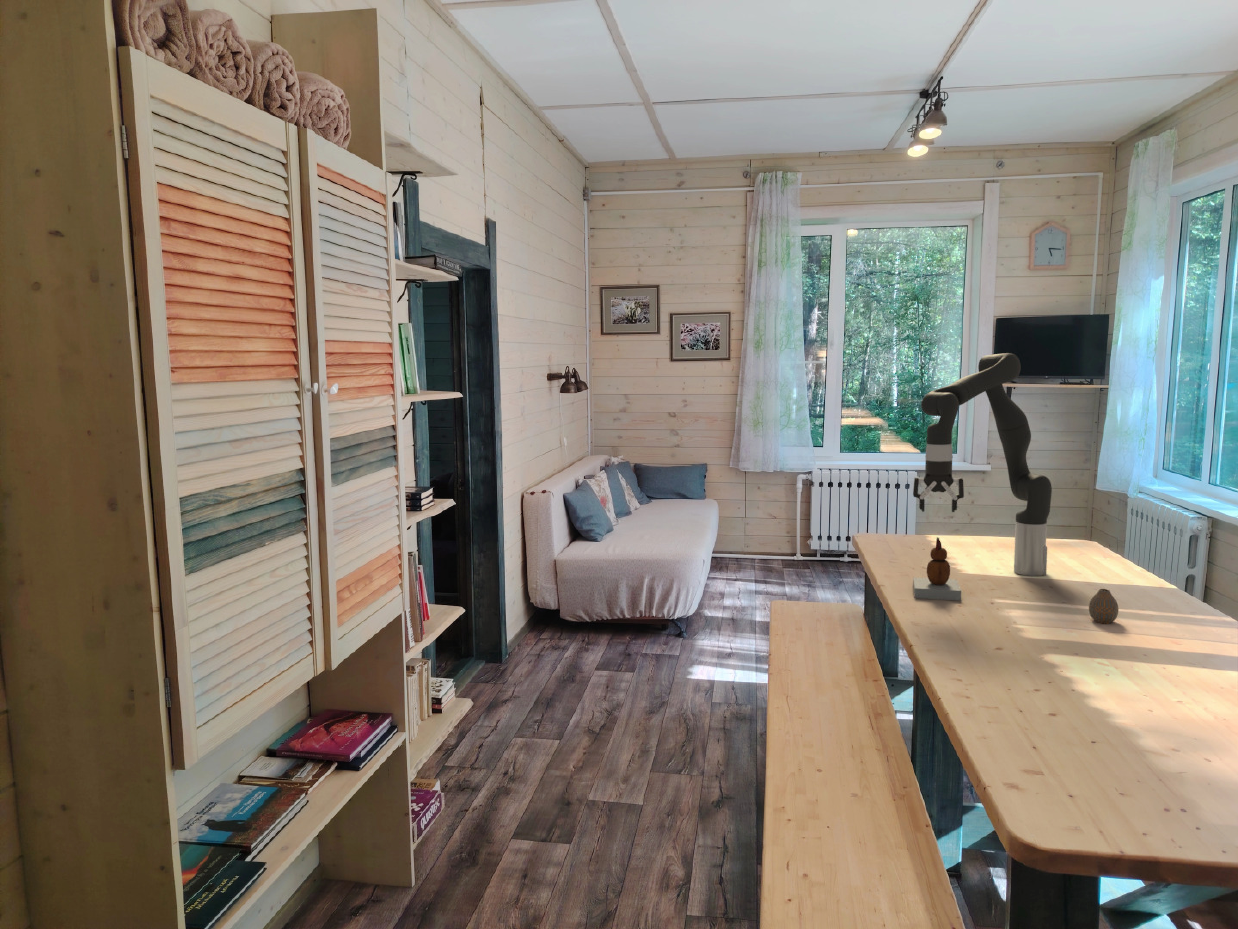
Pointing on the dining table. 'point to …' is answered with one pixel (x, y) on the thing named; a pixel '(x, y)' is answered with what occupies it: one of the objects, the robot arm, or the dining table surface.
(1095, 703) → the dining table surface
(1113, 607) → the vase
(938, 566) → the wooden figurine
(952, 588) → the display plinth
